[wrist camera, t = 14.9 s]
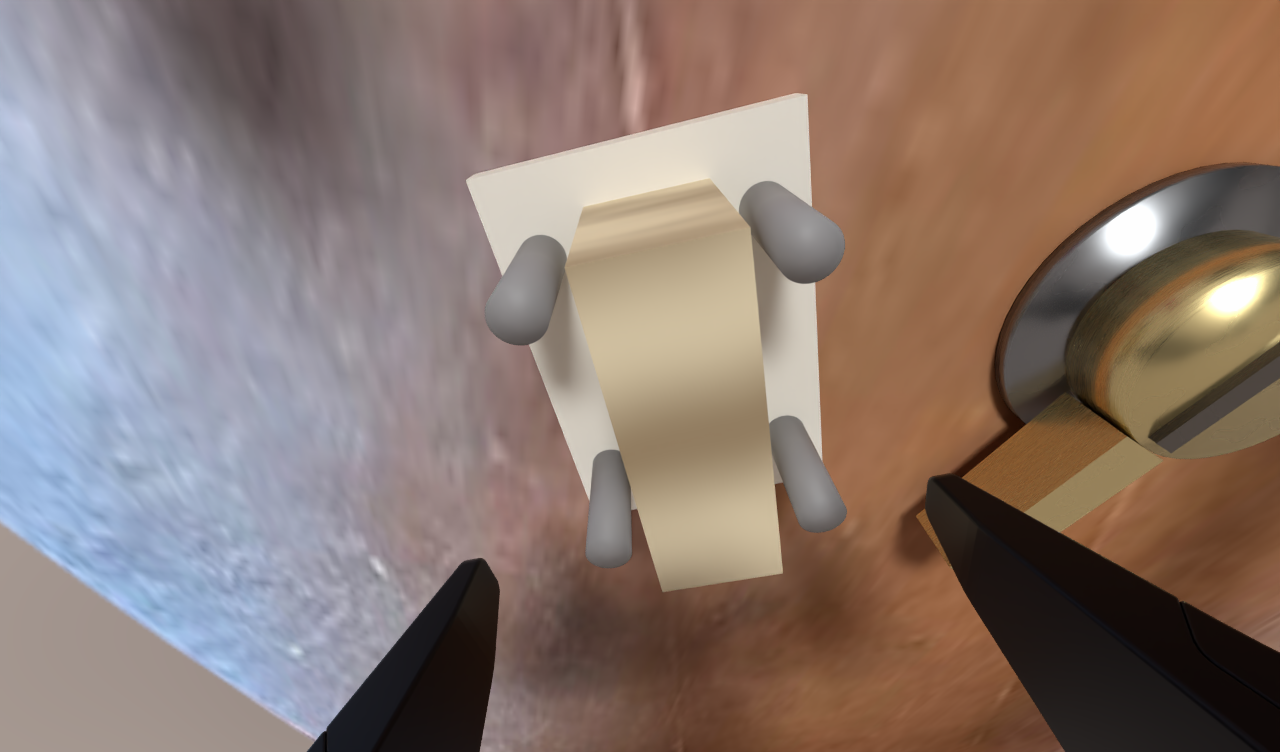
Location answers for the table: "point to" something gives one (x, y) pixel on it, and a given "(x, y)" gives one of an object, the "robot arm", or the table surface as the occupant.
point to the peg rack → (784, 273)
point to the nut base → (1119, 266)
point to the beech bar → (682, 376)
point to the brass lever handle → (1152, 380)
